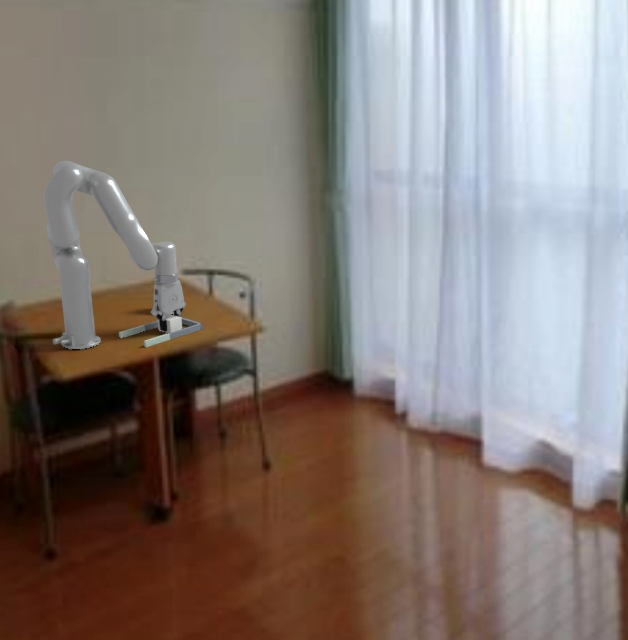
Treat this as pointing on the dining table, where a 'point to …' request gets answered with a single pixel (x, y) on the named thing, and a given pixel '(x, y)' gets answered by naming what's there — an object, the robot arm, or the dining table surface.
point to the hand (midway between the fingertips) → (170, 328)
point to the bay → (193, 328)
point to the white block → (172, 323)
